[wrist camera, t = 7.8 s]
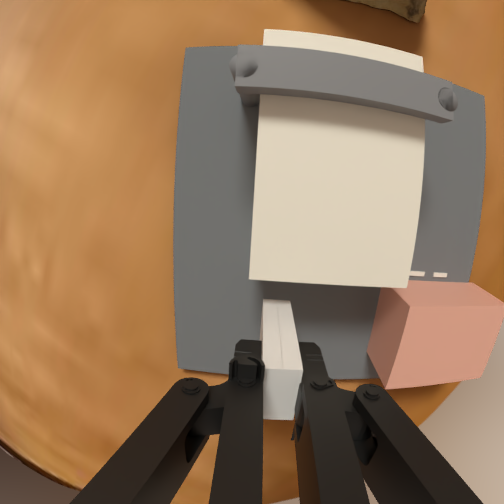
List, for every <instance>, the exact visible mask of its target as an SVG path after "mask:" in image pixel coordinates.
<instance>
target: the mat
mask: <svg viewBox="0 0 504 504" xmlns="http://www.w3.org/2000/svg"><path fill="white" fill-rule="evenodd" d="M237 52H238V46H210V47H189V48H186V50H185V58H184V67H183V75H182V85H181V95H180V106H179V118H178V131H177V146H176V164H175V188H174V239H173V252H174V304H175V327H176V345H177V361H178V368H181V369H188V370H196V371H204V372H212V373H221V374H229V362H230V361H231V359H233V358H234V352H235V345H236V344H237V343H238V342H239V341H240V340H241V339H246V340H260V330H261V318H262V307H263V299H273V300H289V301H290V303H291V308H292V313H293V318H294V323H295V329H296V334H297V339H298V342H314V343H315V344H316V345H318V346H319V347H320V349H321V353H322V356H323V359H324V360H323V361H324V363H325V366H326V370H327V373H328V376H329V377H330V378H331V379H370V378H379V375H378V373H377V371H376V369H375V367H374V365H373V363H372V361H371V359H370V357H369V355H368V353H367V347H368V343H369V340H370V335H371V331H372V327H373V323H374V318H375V314H376V309H377V305H378V300H379V295H380V290H381V287H368V286H348V285H329V284H312V283H296V282H280V281H266V280H252V279H249V269H250V252H251V236H252V219H253V203H254V186H255V170H256V154H257V137H258V121H259V105H260V103H259V104H257V105H256V106H252V107H250V106H246V105H245V104H243V102H242V100H241V98H240V95H239V93H237V90H236V88H235V82H234V79H233V76H232V74H231V71H230V68H229V63H230V61H231V59H232V58H233V57H234V56H235V55H237ZM452 88H453V92H454V93H455V95H456V97H457V100H458V107H457V109H456V110H455V111H454V121H450V122H446V123H442V124H441V123H437V122H434V121H430V120H426V119H425V148H424V168H423V181H422V193H421V203H420V211H419V220H418V227H417V234H416V241H415V247H414V253H413V259H412V264H411V270H410V275H409V280H417V281H439V282H464V283H469V278H470V274H471V269H472V265H473V260H474V255H475V249H476V244H477V238H478V232H479V225H480V218H481V210H482V201H483V190H484V177H485V156H486V121H485V100H484V96H483V95H480V94H478V93H475V92H473V91H471V90H468V89H465V88H463V87H460V86H457V85H455V84H452Z"/></svg>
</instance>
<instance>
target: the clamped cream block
mask: <svg viewBox="0 0 504 504" xmlns="http://www.w3.org/2000/svg"><path fill="white" fill-rule="evenodd" d="M229 68H230V71H231V74H232V76H233V79H234V82H235V88H236V90H237V93H239V95H240V98H241V100H242V102H243V104H245V105H246V106H250V107H252V106H256V105H257V104H259V103H260V105H259V121H258V137H257V154H256V170H255V186H254V203H253V219H252V236H251V252H250V269H249V279H252V280H266V281H280V282H296V283H312V284H329V285H348V286H368V287H390V288H407V285H408V280H409V275H410V270H411V264H412V259H413V253H414V247H415V241H416V234H417V227H418V220H419V211H420V203H421V193H422V181H423V168H424V148H425V119H426V120H430V121H434V122H437V123H441V124H442V123H446V122H450V121H454V111H455V110H456V109H457V107H458V100H457V97H456V95H455V93H454V92H453V88H452V82H450V81H447V80H444V79H441V78H438V77H435V76H432V75H429V74H426V73H424V70H423V57H421V56H418V55H415V54H412V53H408V52H405V51H401V50H397V49H394V48H390V47H386V46H382V45H377V44H373V43H368V42H364V41H359V40H354V39H348V38H342V37H336V36H330V35H323V34H316V33H307V32H298V31H286V30H272V29H264V41H263V45H238V52H237V55H235V56H234V57H233V58H232V59H231V61H230V63H229Z"/></svg>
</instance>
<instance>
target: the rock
mask: <svg viewBox="0 0 504 504" xmlns="http://www.w3.org/2000/svg"><path fill="white" fill-rule="evenodd" d="M348 1H351V2H356V3H357V2H360V3H363V4H367V5H369V6H371V7H375V8H379V9H387V10H391V11H393V12H395V13H396V14H398V15H400V16H403V17H405V18H406V19H408V20H410V21H413V22H417V23H419V21H420V18H421V17H422V15H423V14H424V13H425V6H426V2H427V0H348Z"/></svg>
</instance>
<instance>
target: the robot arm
mask: <svg viewBox="0 0 504 504" xmlns="http://www.w3.org/2000/svg"><path fill="white" fill-rule="evenodd" d="M323 360H324V359H323V356H322V353H321V349H320V347H319V346H318V345H316V344H315V343H314V342H298V339H297V334H296V329H295V323H294V318H293V313H292V308H291V303H290V301H289V300H273V299H263V307H262V318H261V330H260V340H246V339H241V340H240V341H239V342H238V343H237V344H236V345H235V352H234V358H233V359H231V361H230V362H229V379H228V381H226V382H225V383H223V384H220V385H216V386H208V384H207V383H206V382H204V381H203V380H201V379H198V378H184V379H181V380H179V381H177V382H176V383H175V384H174V385H173V386H172V387H171V389H170V390H169V391H168V392H167V393H166V395H165V396H164V397H163V398H162V399H161V400H160V402H159V403H158V404H157V405H156V406H155V408H154V409H153V410H152V411H151V412H150V413H149V415H148V416H147V417H146V418H145V419H144V420H143V421H142V423H141V424H140V425H139V426H138V427H137V428H136V430H135V431H134V432H133V433H132V434H131V435H130V437H129V438H128V439H127V440H126V441H125V442H124V443H123V445H122V446H121V447H120V448H119V449H118V450H117V451H116V453H115V454H114V455H113V456H112V457H111V458H110V459H109V460H108V462H107V463H106V464H105V465H104V466H103V467H102V468H101V469H100V471H99V472H98V473H97V474H96V475H95V476H94V477H93V478H92V480H91V481H90V482H89V483H88V484H87V485H86V486H85V487H84V488H83V489H82V491H81V492H80V493H79V494H78V495H77V496H76V497H75V499H73V500H72V502H71V503H70V504H170V502H171V501H172V499H173V498H174V496H175V494H176V493H177V491H178V490H179V488H180V486H181V485H182V483H183V481H184V480H185V478H186V476H187V475H188V473H189V471H190V470H191V468H192V466H193V465H194V463H195V461H196V460H197V458H198V456H199V454H200V453H201V451H202V449H203V448H204V446H205V444H206V442H207V441H208V439H209V436H210V435H214V434H220V436H219V443H218V449H217V455H216V461H215V468H214V474H213V480H212V487H211V493H210V499H209V504H262V475H263V419H272V420H293V418H294V414H295V419H296V420H295V425H294V429H293V434H292V438H291V440H294V437H295V448H296V460H297V472H298V484H299V497H300V504H370V503H369V499H368V495H367V491H366V487H365V483H364V480H365V482H366V483H367V485H368V487H369V488H370V490H371V492H372V493H373V495H374V497H375V498H376V500H377V502H378V503H379V504H483V503H482V502H481V500H480V499H479V498H478V497H477V496H476V495H475V493H474V492H473V491H472V490H471V489H470V487H468V485H467V484H466V483H465V482H464V480H463V479H462V478H461V477H460V476H459V475H458V474H457V472H456V471H455V470H454V469H453V468H452V467H451V465H450V464H449V463H448V462H447V461H446V460H445V458H444V457H443V456H442V455H441V454H440V453H439V451H438V450H436V448H435V447H434V446H433V445H432V443H431V442H430V441H429V440H428V439H427V438H426V436H425V435H424V434H423V433H422V432H421V431H420V430H419V428H418V427H417V426H416V425H415V424H414V423H413V421H412V420H411V419H410V418H409V417H408V416H407V415H406V413H405V412H404V411H403V410H402V409H401V408H400V407H399V405H398V404H397V403H396V402H395V401H394V400H393V399H392V397H391V396H390V395H389V394H388V393H387V392H386V391H385V390H384V389H383V388H382V387H380V386H377V385H374V384H363V385H361V386H359V387H358V388H357V389H356V392H353V391H348V390H344V389H340V388H338V387H337V385H336V383H335V381H334V380H333V379H331V378H330V377H329V376H328V373H327V370H326V366H325V363H324V361H323ZM363 478H364V479H363Z"/></svg>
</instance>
